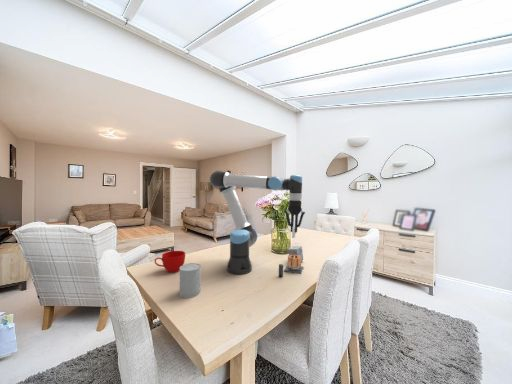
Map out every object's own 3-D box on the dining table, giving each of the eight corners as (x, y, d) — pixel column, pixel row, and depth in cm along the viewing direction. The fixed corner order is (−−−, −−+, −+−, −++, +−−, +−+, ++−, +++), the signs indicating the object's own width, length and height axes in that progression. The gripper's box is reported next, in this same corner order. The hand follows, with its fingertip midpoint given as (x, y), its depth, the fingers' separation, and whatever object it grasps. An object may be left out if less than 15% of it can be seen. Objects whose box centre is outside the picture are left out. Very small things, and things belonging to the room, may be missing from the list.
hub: (284, 271, 127) (284, 259, 127) (287, 265, 136) (288, 255, 136) (301, 273, 123) (301, 262, 123) (303, 268, 133) (303, 257, 133)
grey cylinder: (192, 286, 106) (193, 261, 106) (204, 292, 100) (204, 266, 100) (175, 293, 99) (175, 267, 99) (186, 300, 93) (186, 272, 93)
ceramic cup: (154, 269, 127) (154, 253, 127) (183, 265, 135) (183, 249, 135) (154, 277, 116) (154, 259, 116) (186, 272, 124) (186, 255, 124)
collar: (294, 268, 124) (294, 259, 124) (285, 264, 131) (285, 256, 131) (303, 265, 129) (303, 257, 129) (294, 261, 135) (294, 254, 135)
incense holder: (292, 259, 150) (292, 244, 150) (303, 261, 146) (303, 246, 146) (286, 263, 142) (286, 247, 142) (298, 265, 137) (298, 249, 137)
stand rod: (278, 276, 119) (278, 265, 119) (279, 275, 121) (279, 264, 121) (282, 277, 118) (282, 266, 118) (283, 275, 120) (283, 264, 120)
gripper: (283, 199, 131) (282, 237, 132) (304, 200, 126) (303, 240, 127) (286, 199, 138) (285, 235, 139) (306, 200, 133) (305, 237, 134)
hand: (293, 237), depth 133 cm, fingers closed
